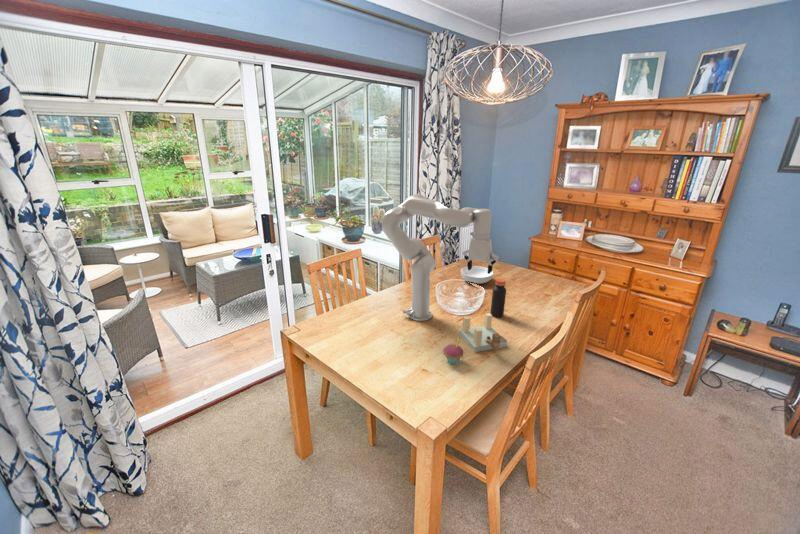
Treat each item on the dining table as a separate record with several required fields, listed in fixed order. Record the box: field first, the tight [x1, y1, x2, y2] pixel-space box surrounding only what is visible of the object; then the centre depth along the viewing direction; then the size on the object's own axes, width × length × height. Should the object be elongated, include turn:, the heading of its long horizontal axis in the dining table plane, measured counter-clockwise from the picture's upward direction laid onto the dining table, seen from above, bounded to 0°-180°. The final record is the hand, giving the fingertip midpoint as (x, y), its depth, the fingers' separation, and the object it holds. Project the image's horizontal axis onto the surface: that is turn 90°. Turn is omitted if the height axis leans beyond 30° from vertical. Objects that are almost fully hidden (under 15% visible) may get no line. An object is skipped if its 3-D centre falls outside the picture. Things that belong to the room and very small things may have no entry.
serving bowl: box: [460, 265, 494, 285], centre depth 231 cm, size 21×21×7 cm
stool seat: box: [458, 312, 508, 353], centre depth 163 cm, size 16×16×10 cm
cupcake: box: [442, 335, 465, 365], centre depth 147 cm, size 9×8×12 cm
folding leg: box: [486, 332, 502, 351], centre depth 154 cm, size 8×2×7 cm, turn 16°
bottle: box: [489, 278, 507, 318], centre depth 184 cm, size 7×7×20 cm
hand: (479, 271), depth 166 cm, fingers open, 9 cm apart
